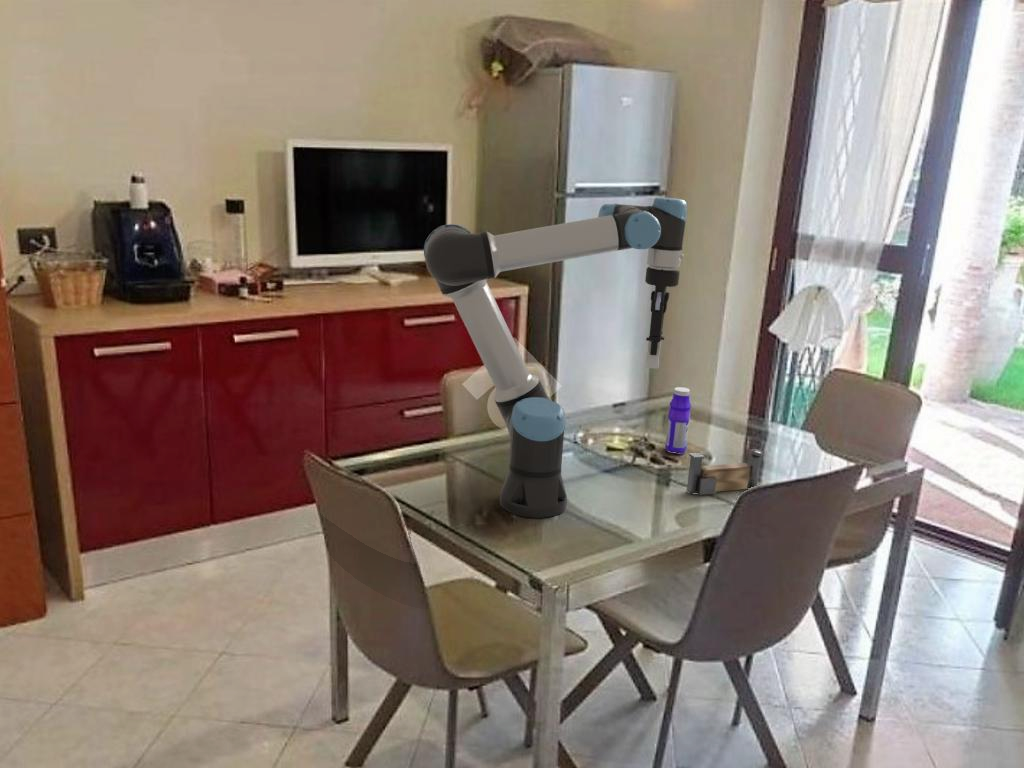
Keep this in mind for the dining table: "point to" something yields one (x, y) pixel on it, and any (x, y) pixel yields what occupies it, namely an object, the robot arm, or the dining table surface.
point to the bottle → (678, 421)
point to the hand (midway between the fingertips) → (652, 367)
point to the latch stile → (695, 481)
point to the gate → (728, 475)
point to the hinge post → (754, 467)
